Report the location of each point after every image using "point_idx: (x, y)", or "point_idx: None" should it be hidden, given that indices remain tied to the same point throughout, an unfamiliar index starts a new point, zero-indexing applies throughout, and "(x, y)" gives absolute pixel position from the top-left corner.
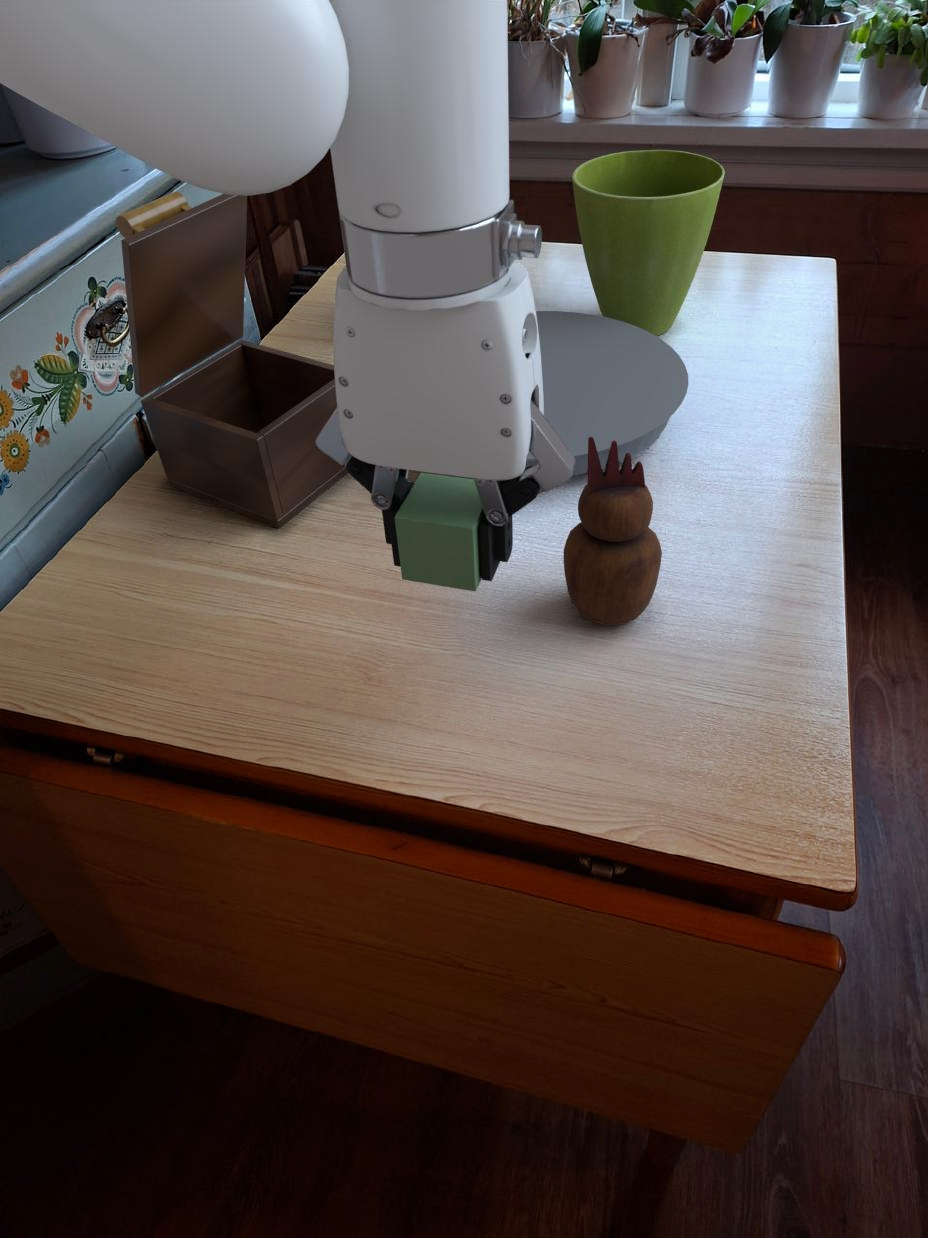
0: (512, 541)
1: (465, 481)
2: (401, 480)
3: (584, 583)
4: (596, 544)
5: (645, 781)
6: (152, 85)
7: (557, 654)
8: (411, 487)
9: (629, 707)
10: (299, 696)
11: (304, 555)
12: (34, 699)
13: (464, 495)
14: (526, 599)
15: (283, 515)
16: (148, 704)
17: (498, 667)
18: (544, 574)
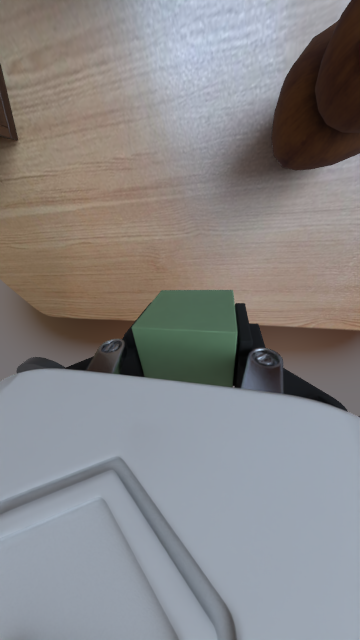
0: (258, 325)
1: (194, 336)
2: (125, 365)
3: (298, 165)
4: (330, 129)
5: (321, 298)
6: None
7: (263, 211)
8: (135, 344)
9: (316, 247)
10: (133, 288)
11: (56, 168)
12: (49, 313)
13: (203, 360)
14: (229, 150)
15: (7, 127)
16: (83, 306)
17: (224, 238)
18: (239, 97)
